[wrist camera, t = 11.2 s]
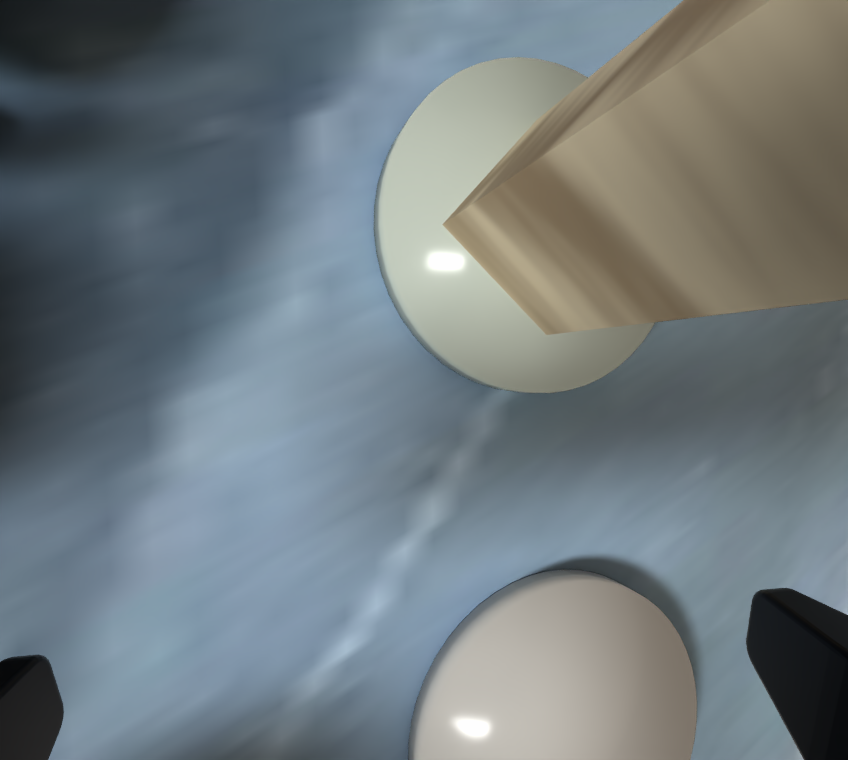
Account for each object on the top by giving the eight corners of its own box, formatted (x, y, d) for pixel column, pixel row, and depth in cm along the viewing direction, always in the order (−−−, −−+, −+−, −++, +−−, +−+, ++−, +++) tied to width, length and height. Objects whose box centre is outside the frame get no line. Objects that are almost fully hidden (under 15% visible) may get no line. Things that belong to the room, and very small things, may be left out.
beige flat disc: (606, 902, 21) (627, 932, 20) (350, 843, 18) (359, 875, 17) (710, 625, 23) (736, 639, 22) (493, 523, 19) (510, 533, 18)
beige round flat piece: (582, 443, 21) (603, 447, 19) (313, 293, 17) (319, 287, 16) (690, 190, 22) (716, 180, 21) (463, 8, 19) (478, -15, 18)
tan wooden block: (546, 334, 19) (1161, 262, 6) (442, 224, 17) (961, -131, 5) (629, 231, 20) (1291, -1, 7) (536, 120, 18) (1154, -384, 6)
